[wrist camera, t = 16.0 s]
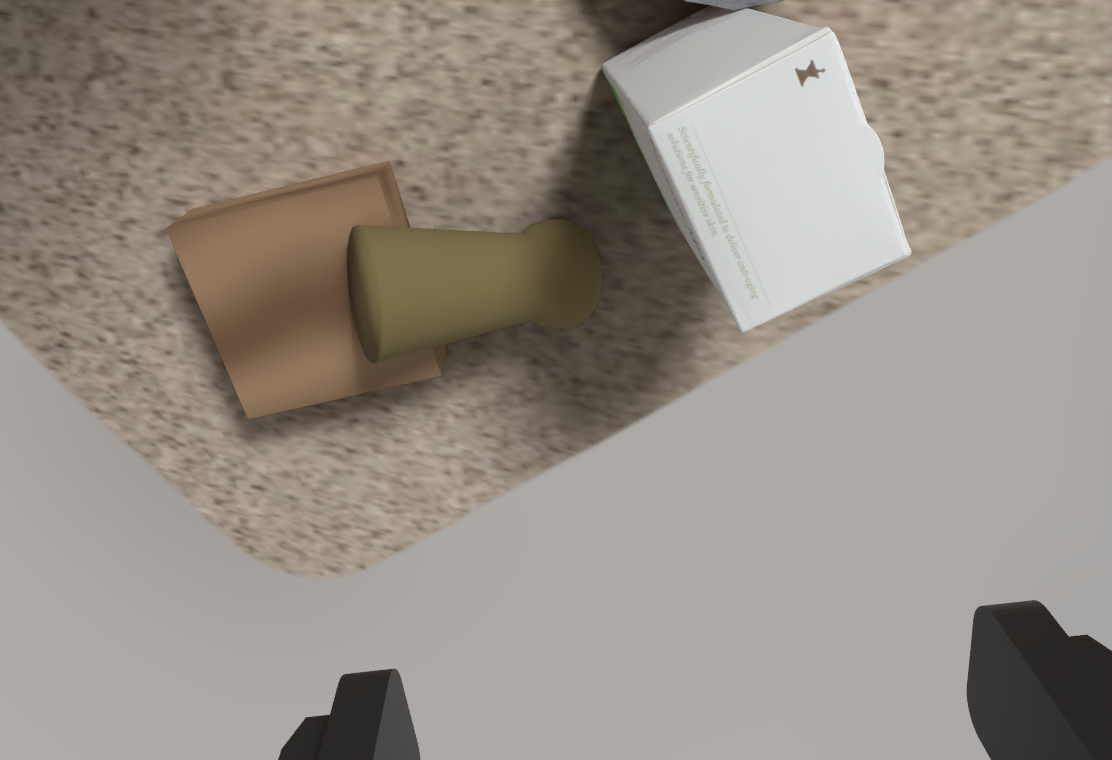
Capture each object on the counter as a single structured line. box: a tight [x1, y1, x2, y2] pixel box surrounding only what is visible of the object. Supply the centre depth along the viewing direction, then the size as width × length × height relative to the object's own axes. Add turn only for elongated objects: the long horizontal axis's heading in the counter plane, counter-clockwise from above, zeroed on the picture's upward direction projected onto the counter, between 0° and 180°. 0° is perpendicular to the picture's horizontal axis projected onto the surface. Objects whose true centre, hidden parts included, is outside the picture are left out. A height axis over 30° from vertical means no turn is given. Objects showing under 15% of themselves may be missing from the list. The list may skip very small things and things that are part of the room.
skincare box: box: [602, 5, 911, 333], centre depth 35 cm, size 8×7×16 cm
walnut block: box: [166, 161, 448, 419], centre depth 44 cm, size 10×10×4 cm
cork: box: [347, 219, 603, 364], centre depth 41 cm, size 6×6×11 cm
